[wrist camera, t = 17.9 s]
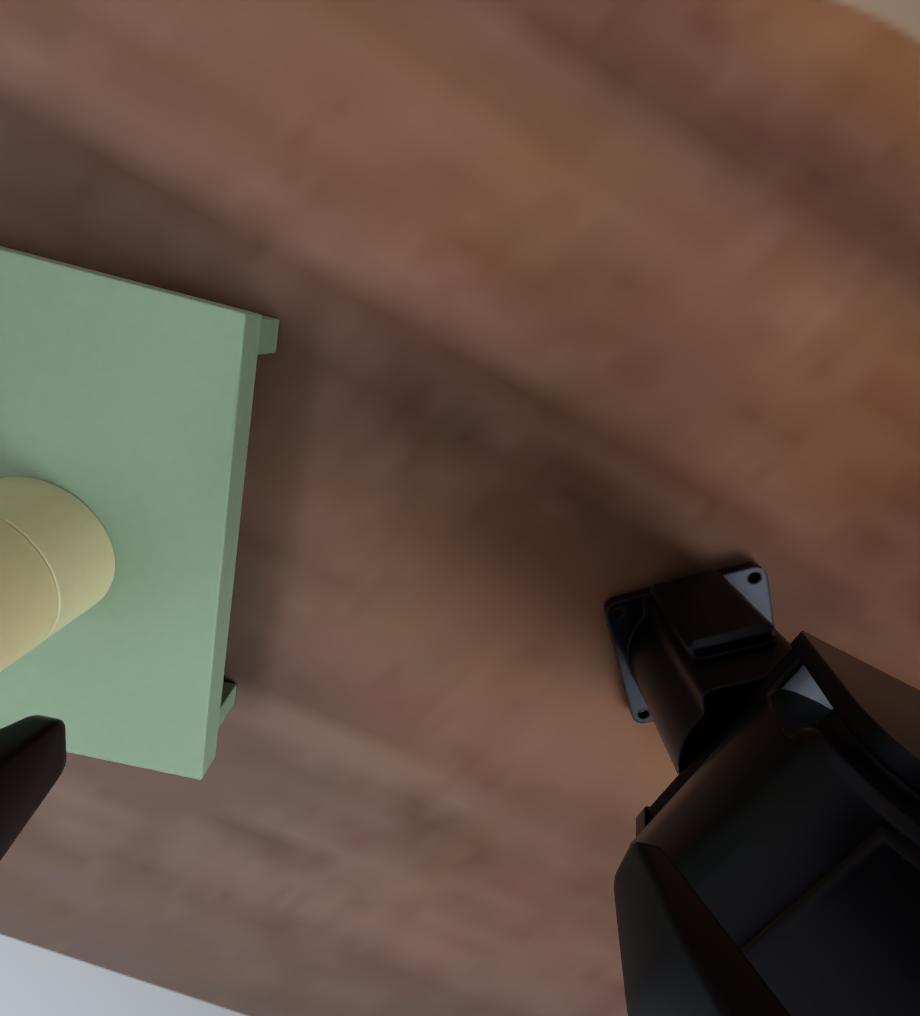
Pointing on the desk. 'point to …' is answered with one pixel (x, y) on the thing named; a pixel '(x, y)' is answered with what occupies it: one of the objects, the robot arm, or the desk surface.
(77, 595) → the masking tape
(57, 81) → the desk surface
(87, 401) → the shelf
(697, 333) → the desk surface
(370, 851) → the desk surface
